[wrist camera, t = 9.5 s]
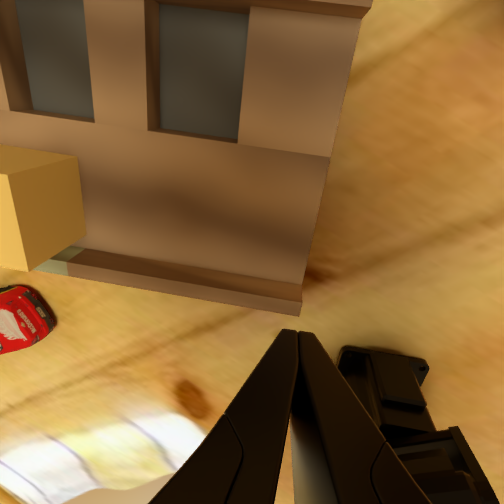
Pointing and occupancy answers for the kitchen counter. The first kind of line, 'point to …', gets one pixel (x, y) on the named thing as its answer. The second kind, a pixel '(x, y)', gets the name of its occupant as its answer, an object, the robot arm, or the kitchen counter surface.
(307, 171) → the tray
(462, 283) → the kitchen counter surface
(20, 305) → the race car
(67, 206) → the mustard block
